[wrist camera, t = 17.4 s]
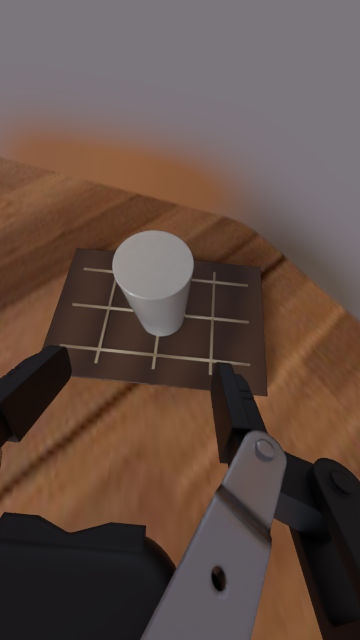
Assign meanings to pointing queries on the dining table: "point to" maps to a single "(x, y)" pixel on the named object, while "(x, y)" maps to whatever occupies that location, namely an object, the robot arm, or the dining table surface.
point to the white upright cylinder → (155, 279)
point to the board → (161, 351)
